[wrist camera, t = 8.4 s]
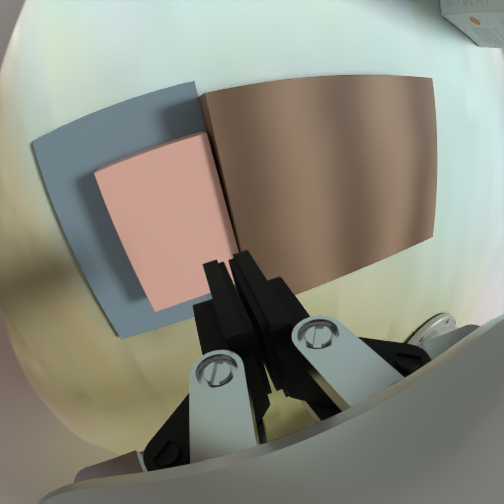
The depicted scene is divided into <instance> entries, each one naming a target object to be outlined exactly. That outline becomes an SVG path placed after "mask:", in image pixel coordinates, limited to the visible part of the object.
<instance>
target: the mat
mask: <svg viewBox="0 0 504 504" xmlns="http://www.w3.org/2000/svg"><path fill="white" fill-rule="evenodd" d="M201 131H202V132H205V133H206V129H205V125H204V121H203V116H202V112H201V108H200V103H199V99H198V95H197V90H196V86H195V82H194V81H192V82H188V83H184V84H180V85H176V86H172V87H169V88H165V89H161V90H158V91H155V92H151V93H148V94H145V95H142V96H138V97H135V98H132V99H129V100H126V101H124V102H121V103H118V104H115V105H112V106H110V107H107V108H104V109H102V110H99V111H97V112H94V113H92V114H89V115H87V116H85V117H82V118H80V119H78V120H75V121H73V122H71V123H69V124H66V125H64V126H62V127H60V128H58V129H56V130H54V131H52V132H50V133H48V134H46V135H44V136H42V137H40V138H38V139H36V140H34V141H32V143H33V146H34V150H35V153H36V157H37V160H38V163H39V166H40V170H41V173H42V176H43V179H44V182H45V184H46V187H47V190H48V193H49V196H50V198H51V201H52V204H53V206H54V209H55V211H56V214H57V216H58V219H59V221H60V224H61V226H62V228H63V231H64V233H65V235H66V237H67V240H68V242H69V244H70V246H71V249H72V251H73V253H74V255H75V257H76V259H77V261H78V263H79V265H80V267H81V269H82V271H83V273H84V275H85V277H86V279H87V281H88V283H89V285H90V287H91V289H92V290H93V292H94V294H95V296H96V298H97V300H98V301H99V303H100V305H101V307H102V308H103V310H104V312H105V314H106V315H107V317H108V319H109V320H110V322H111V324H112V325H113V327H114V329H115V330H116V332H117V333H118V335H119V337H120V338H121V339H124V338H127V337H130V336H134V335H137V334H140V333H144V332H147V331H150V330H154V329H157V328H160V327H163V326H166V325H170V324H173V323H176V322H179V321H182V320H185V319H188V318H191V317H194V311H193V305H194V304H197V303H200V302H204V301H207V300H210V299H212V295H211V293H208V294H205V295H203V296H200V297H197V298H194V299H191V300H188V301H185V302H183V303H180V304H177V305H174V306H171V307H168V308H165V309H162V310H159V311H156V312H155V311H154V309H153V307H152V305H151V303H150V301H149V299H148V297H147V295H146V293H145V291H144V289H143V287H142V285H141V283H140V281H139V279H138V277H137V275H136V273H135V271H134V269H133V267H132V264H131V262H130V260H129V258H128V256H127V254H126V251H125V249H124V247H123V245H122V242H121V240H120V238H119V235H118V233H117V231H116V228H115V226H114V224H113V221H112V219H111V216H110V214H109V211H108V209H107V206H106V204H105V201H104V199H103V196H102V193H101V191H100V188H99V185H98V183H97V180H96V177H95V174H94V173H95V172H96V171H97V170H98V169H99V168H100V167H102V166H104V165H106V164H109V163H111V162H114V161H116V160H119V159H121V158H124V157H127V156H129V155H132V154H134V153H137V152H140V151H143V150H145V149H148V148H151V147H154V146H157V145H160V144H163V143H166V142H169V141H172V140H175V139H178V138H181V137H184V136H188V135H191V134H194V133H198V132H201ZM234 286H235V284H234ZM235 288H236V287H235Z"/></svg>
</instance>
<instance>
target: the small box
mask: <svg viewBox="0 0 504 504" xmlns="http://www.w3.org/2000/svg"><path fill="white" fill-rule="evenodd" d="M440 9H441V15H442V16H443V17H445V18H446V19H447V20H449V21H450V22H451V23H453V24H454V25H455V26H456V27H458V28H459V29H460V30H461V31H462V32H464V33H465V34H466V35H467V36H468V37H470V38H471V39H472V40H473V41H474V42H475V43H477V44H478V45H479V46H480V47H491V48H504V0H440Z"/></svg>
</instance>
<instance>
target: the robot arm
mask: <svg viewBox="0 0 504 504" xmlns="http://www.w3.org/2000/svg"><path fill="white" fill-rule="evenodd" d="M228 261H229V265H230V269H231V272H232V276H233V280H234V283H235V286H234V283H233V281H232V279H231V277H230V274H229V272H228V270H227V267H226V265H225V263H224V261H223V262H220V263H218V261H217V259H216V260H213V261H210V262H207V263H204V264H202V265H203V268H204V272H205V275H206V278H207V282H208V285H209V289H210V292H211V295H212V299H210V300H207V301H204V302H200V303H197V304H194V305H193V311H194V316H195V321H196V326H197V331H198V336H199V341H200V345H201V350H202V354H203V356H201V357H200V358H199V359H198V360H197V361H195V363H194V364H193V366H192V368H191V371H190V385H189V394H188V395H187V396H186V398H185V399H184V400H183V401H182V403H181V404H180V405H179V406H178V408H177V409H176V410H175V411H174V413H173V414H172V415H171V416H170V417H169V419H168V420H167V421H166V422H165V424H164V425H163V426H162V427H161V428H160V430H159V431H158V432H157V433H156V434H155V436H154V437H153V438H152V439H151V440H150V442H149V443H148V445H147V446H146V448H145V450H144V451H141V452H137V451H136V450H135V451H132V452H129V453H127V454H124V455H121V456H118V457H116V458H113V459H110V460H107V461H104V462H101V463H98V464H95V465H92V466H89V467H86V468H84V469H82V470H80V471H79V473H78V474H77V475H76V477H75V481H74V483H71V484H68V485H66V486H63V487H61V488H58V489H56V490H54V491H52V492H49V493H48V494H46V495H45V496H44V497H42V498H41V499H40V500H39V501H38V502H37V503H36V504H504V314H503V315H501V316H499V317H497V318H495V319H492V320H490V321H489V322H487V323H485V324H483V325H482V326H478V325H472V324H471V325H466V326H463V327H461V328H459V329H458V328H457V327H456V321H455V318H454V317H453V316H451V315H450V314H449V313H443V314H440V315H438V316H436V317H434V318H433V319H431V320H430V321H428V322H427V323H426V324H425V325H424V326H422V327H421V328H420V329H419V330H418V331H417V332H416V333H415V334H414V335H413V337H412V338H411V339H410V340H409V341H408V342H407V344H405V343H398V342H390V341H383V340H376V339H369V338H362V337H357V336H356V335H355V334H354V333H352V332H351V331H350V330H349V329H348V328H347V327H345V326H344V325H343V324H342V323H341V322H340V321H338V320H336V319H335V318H333V317H329V316H322V315H318V316H311V317H310V316H309V314H308V313H307V311H306V310H305V309H304V307H303V306H302V305H301V303H300V302H299V301H298V299H297V298H296V296H295V295H294V294H293V292H292V291H291V290H290V288H289V287H288V286H287V284H286V283H285V281H284V280H283V279H282V278H281V277H276V278H273V279H270V280H267V279H266V277H265V276H264V274H263V273H262V271H261V270H260V268H259V267H258V265H257V263H256V262H255V260H254V259H253V257H252V256H251V254H250V253H249V251H248V250H245V251H242V252H239V253H235V254H233V259H230V260H228ZM235 287H236V288H235ZM263 362H264V363H263ZM264 365H265V367H266V369H267V371H268V373H269V376H270V378H271V380H272V382H273V384H274V387H275V389H276V391H278V390H281V389H283V392H284V394H285V396H286V397H288V396H290V397H291V398H295V399H299V400H301V402H302V404H303V406H304V407H305V408H306V410H307V411H308V412H309V413H310V415H311V416H312V417H313V419H314V420H315V421H316V422H317V423H316V424H314V425H312V426H309V427H307V428H305V429H302V430H300V431H297V432H295V433H292V434H289V435H287V436H284V437H281V438H279V439H276V440H273V441H270V442H269V441H268V436H267V431H266V426H265V421H264V418H263V416H264V414H265V413H266V411H267V409H268V408H269V406H270V402H269V398H268V395H267V394H270V393H272V391H271V388H270V384H269V381H268V377H267V374H266V370H265V367H264Z"/></svg>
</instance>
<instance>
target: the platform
mask: <svg viewBox="0 0 504 504" xmlns="http://www.w3.org/2000/svg"><path fill="white" fill-rule="evenodd" d="M198 99H199V103H200V108H201V112H202V116H203V121H204V125H205V129H206V133H207V136H208V140H209V143H210V147H211V151H212V155H213V159H214V162H215V166H216V170H217V174H218V177H219V181H220V185H221V189H222V192H223V196H224V200H225V203H226V207H227V211H228V215H229V218H230V222H231V226H232V229H233V233H234V236H235V240H236V244H237V247H238V251H239V252H242V251H245V250H248V251H249V253H250V254H251V256H252V257H253V259H254V260H255V262H256V263H257V265H258V267H259V268H260V270H261V271H262V273H263V274H264V276H265V277H266V279H267V280H270V279H273V278H276V277H281V278H282V279H283V280H284V281H285V283H286V284H287V286H288V287H289V288H290V290H291V291H292V292H293V294H294V295H296V294H299V293H301V292H304V291H307V290H309V289H312V288H314V287H317V286H319V285H322V284H325V283H327V282H330V281H332V280H335V279H337V278H339V277H342V276H344V275H347V274H349V273H352V272H354V271H356V270H359V269H361V268H364V267H366V266H368V265H371V264H373V263H375V262H378V261H380V260H382V259H385V258H387V257H389V256H391V255H394V254H396V253H398V252H401V251H403V250H405V249H407V248H409V247H412V246H414V245H416V244H418V243H420V242H423V241H425V240H427V239H429V238H431V237H433V229H434V219H435V206H436V189H437V127H436V111H435V99H434V89H433V81H432V78H424V77H412V76H394V75H338V76H320V77H306V78H296V79H286V80H278V81H270V82H263V83H257V84H250V85H245V86H239V87H233V88H228V89H223V90H218V91H214V92H209V93H205V94H203V95H201V96H199V97H198Z"/></svg>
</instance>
